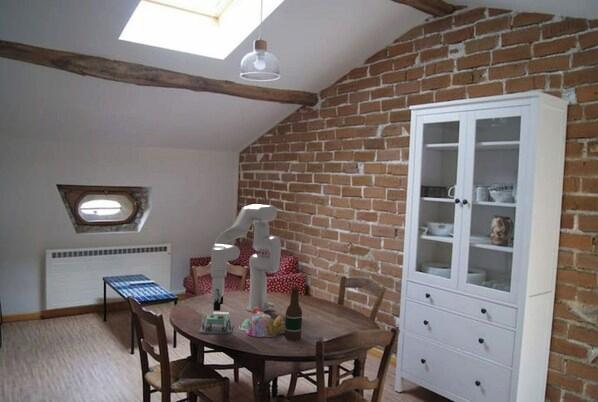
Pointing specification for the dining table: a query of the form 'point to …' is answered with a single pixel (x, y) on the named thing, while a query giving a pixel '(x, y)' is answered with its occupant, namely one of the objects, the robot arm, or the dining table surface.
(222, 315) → the white rectangular block
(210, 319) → the board
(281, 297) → the dining table surface
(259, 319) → the pastel sphere sculpture
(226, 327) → the chassis
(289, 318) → the beer bottle
